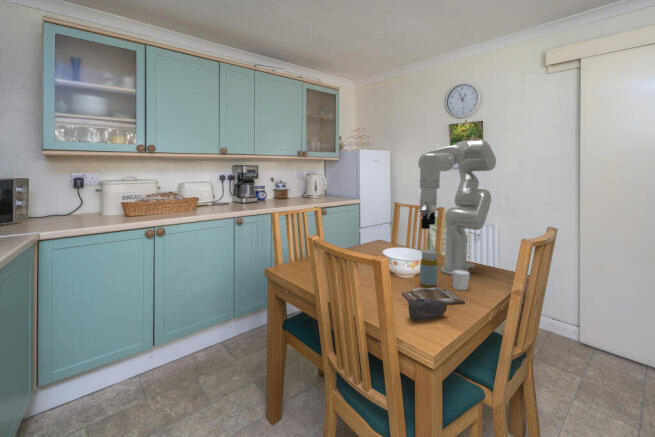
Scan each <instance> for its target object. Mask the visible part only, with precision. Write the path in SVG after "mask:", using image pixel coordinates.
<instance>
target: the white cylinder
mask: <svg viewBox="0 0 655 437" xmlns="http://www.w3.org/2000/svg"><path fill="white" fill-rule="evenodd" d="M468 271H469V270H468ZM468 271H465V270H453V271H452V275H451V276H452V288H453V289H454V290H458V291H466V290H468V286H469V281H470V277H471V273H470V271H469V272H468Z"/></svg>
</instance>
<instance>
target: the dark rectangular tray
mask: <svg viewBox="0 0 655 437" xmlns="http://www.w3.org/2000/svg"><path fill="white" fill-rule="evenodd" d="M401 295H402V297H404V298H405V299H406V300H407V302H408V301H409V300H413V299H435V300H439V301H442V302H444V303H445V304H446V306H448V305H464V304H466V301H465V300H464V298H463V299H462V298H461V296H459V295H458V294H456V293H455V292H454V291H452V290H450V289H448V288H443V289H442V288H441V287H439V286H438V287H437V286H436V287H432V288H428V287H424V288H423V287H422V288H411V291H402V292H401Z"/></svg>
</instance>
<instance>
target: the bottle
mask: <svg viewBox="0 0 655 437" xmlns="http://www.w3.org/2000/svg"><path fill="white" fill-rule="evenodd" d="M419 264H420V265H419V266H420V267H419V269H420V270H419V284H420V285H421V287H422V288H423V287H424V288H436V287H437V281H438V264H439V262H438V251H436V250H434V249H423V250H422V251H421V260H420V262H419Z"/></svg>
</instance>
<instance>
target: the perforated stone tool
mask: <svg viewBox="0 0 655 437" xmlns="http://www.w3.org/2000/svg"><path fill="white" fill-rule="evenodd" d="M407 302H408V307H407V308H408V315H409V319H410V321H427V320H431V319H436V318H439V317H441V316H443V315H444V314H445V313H446V312H447V309H448V307H447V306H448V305H446V304H445V303H444V302H442V301H439V300H435V299H413V300H409V301H408V300H407Z"/></svg>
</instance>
